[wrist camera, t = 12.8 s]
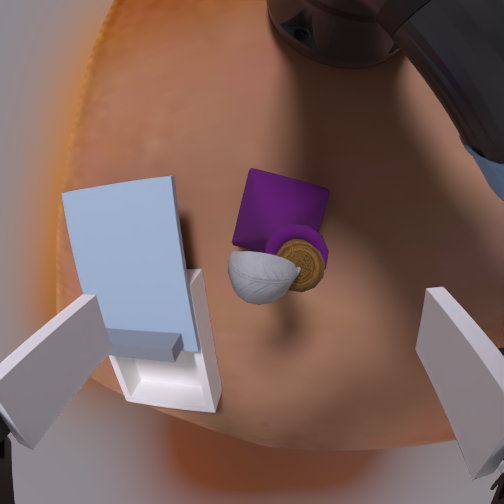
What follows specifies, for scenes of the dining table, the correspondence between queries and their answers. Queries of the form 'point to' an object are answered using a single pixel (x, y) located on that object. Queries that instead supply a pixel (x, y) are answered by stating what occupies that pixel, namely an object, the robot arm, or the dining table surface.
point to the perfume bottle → (278, 238)
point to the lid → (134, 265)
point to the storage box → (177, 367)
